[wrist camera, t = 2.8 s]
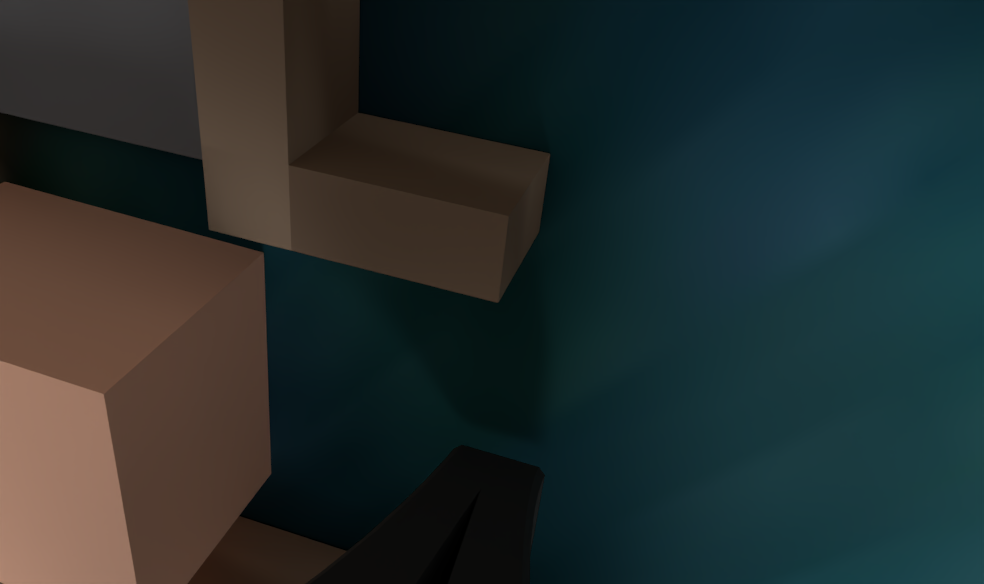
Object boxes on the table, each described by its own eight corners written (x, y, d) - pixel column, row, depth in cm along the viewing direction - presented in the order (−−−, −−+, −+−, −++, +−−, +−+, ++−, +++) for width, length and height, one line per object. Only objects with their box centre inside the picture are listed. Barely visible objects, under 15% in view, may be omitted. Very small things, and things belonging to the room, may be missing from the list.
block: (274, 469, 17) (145, 638, 13) (57, 397, 18) (-113, 538, 14) (267, 249, 14) (103, 394, 11) (10, 178, 15) (-213, 291, 12)
